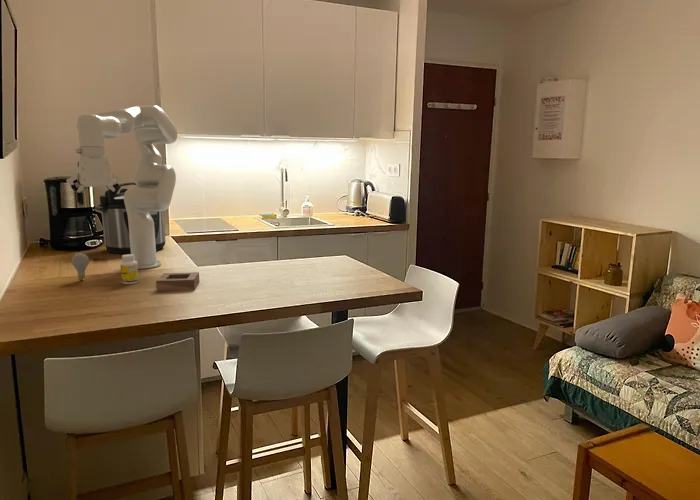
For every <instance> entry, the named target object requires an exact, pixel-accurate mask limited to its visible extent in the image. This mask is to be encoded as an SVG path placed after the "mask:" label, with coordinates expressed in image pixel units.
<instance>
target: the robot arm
mask: <svg viewBox="0 0 700 500" xmlns="http://www.w3.org/2000/svg"><path fill="white" fill-rule="evenodd" d="M76 131H77V132H78V142H79V143H78V145H79V146H78V149H77V148H75V152H74V153H75V154H79V156H78V157H77V166H76V174H74V175H73V176H70V177H69V178H67V179H65V181H66V183H67V185H68V186H69V188H70V189H71V190H72V191H74V192H75V194H76V202H77V203H78V205H80V206H83V205H84V204H85V202H84V193H83V190H84V189H85V187H87V188H88V187H89V188H90V187H91V188H93V187H97V188H98V187H105V188H106V190H109V191H108V192H107V193H108V203H113V201H114V191H115V189H116V188H117V187H118V186H119V184H121V181H122V179H121V178H120V176H119V177H118V176H117V175H115V174H113V173H112V170H111V165H110V161H109V157H108V156H106V154H105V141H104V139H115V138H117V137H119V136H120V135H121V134H128V133H130V132H133V131H134V138H135V141H136V145H137V146H138V150H139V160H138V162H137V167H136V170H135V173H134V180H133V181H134V183H135V184H136V185H135V187H130V188H127V189H128V190H127V191H126V192H125V194H124V203H125V207H126V210H127V215H128V223H129V237H130V250H131V253H130V254H133V255H134V258H135V259H134V261H136V262H137V269H138V270H140V269H141V270H143V269H153V268H158V267H160V266H161V265H162V263H161V261H159V260H157V250H156V244H155V230H154V221H153V219H152V217H151V216H150V214H149V213H148V211H163V212H164V211H167V210H168V209H169V208H170V206H171V201H172V198H173V194H174V190H175V186H176V182H177V175H176V174H177V173H176V171H175V169H174V168H173V166H171V165H169V164H162V162H163V157H162V155H161V152H160V151H159V150H158V149H157V148H156V146H155V145H171V144H174V143H175V142H176V141H177V139H178V130H177V128H176V125H175V124H174V122H173V121H172V119H171V118H170V117H169V115H168V114H167V113H166V111H164V109H162V107H160V106H158V105H133V106H130V107H125V108H121V109H117V110H111V111H105V112H99V113H92V114H80V115H79V116H77V123H76ZM76 180H77V184H78V185H75V184H74V181H76ZM113 180H114V183H113Z"/></svg>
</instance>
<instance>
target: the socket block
mask: <svg viewBox="0 0 700 500" xmlns="http://www.w3.org/2000/svg"><path fill="white" fill-rule="evenodd" d="M199 284H200V272H199V271H197V272H196V271H195V272H172V273H171V272H167V273H166V272H165V273H162V274H161V275H160V276H159V277H158V278H157V279H156V280H155V285H156V293H157V292H159V293H160V292H178V291H179V292H181V291H182V292H184V291H195V290H196V289H197V287H198V285H199Z"/></svg>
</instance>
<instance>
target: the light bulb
mask: <svg viewBox="0 0 700 500" xmlns="http://www.w3.org/2000/svg"><path fill="white" fill-rule="evenodd" d="M89 263H90V261H89V256H88V255H87V254H86V253H82V252H78V253H75V254H74V255H73V256H72V257H71V265H72V266H73V267H74V269H75V270H76V271H77V275H78V276H77V277H78V280H79V281H81V280H83V279H84V280H85V279H86V269H87V267H88V266H89ZM84 280H83V281H84Z"/></svg>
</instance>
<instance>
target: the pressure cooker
mask: <svg viewBox="0 0 700 500" xmlns="http://www.w3.org/2000/svg"><path fill="white" fill-rule="evenodd" d="M132 185H133V186H137V185H136V184H135V182H124V183H119V186H118V187H117V188H116V189H115V191H114V201H113V203H108V193H107V192H108V191H109V190H108V189H106V190H105V192H104V195H100V196H99V202H100V204H98V205H97V206H94V210H95V211H99V212H101V219H102V220H101V221H102V222H101V223H102V229H103V230H102V231H103V241H104V247H105V249H106V251H108V252H109V253H115V254H131V250H130V237H129V223H128V215H127V210H126V207H125V203H124V194H125V192H126V191H127V190H128V189H129V188H121V187H126V186H132ZM148 213H149V214H150V216H151V217H152V219H153V221H154V230H155V244H156V251H157V250H161V249H163V248H164V246H165V245H166V231H165V217H164V216H165V215H164V211H148Z"/></svg>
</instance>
